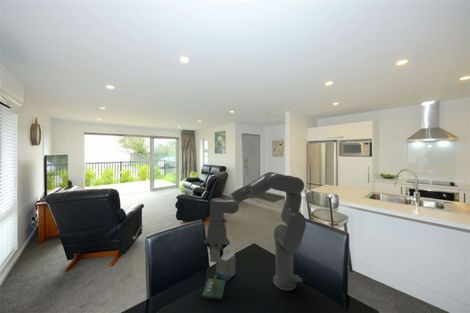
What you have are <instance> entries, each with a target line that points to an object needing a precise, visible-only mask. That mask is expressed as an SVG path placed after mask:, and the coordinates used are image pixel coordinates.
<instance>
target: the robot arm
mask: <svg viewBox="0 0 470 313" xmlns="http://www.w3.org/2000/svg"><path fill="white" fill-rule="evenodd" d="M304 188H305V182H304V181H303V179H301V178H300V177H297V176H294V175H293V176H292V175H286V174H281V173H277V172H273V171H269V172H266V173H264V174H263V175H261V176H260V177H258V178H257V179H255V180H253V181H251V182H250V183H248V184H247V185H244V186H242V187H240V188H237V189H236V190H234V191H233V192H231V193H230V194H228V195H227V196H226V197H225V198H224V199H223V198H221V197H215V198H211V199H210V201H209V224H208V227H207V232H206V233H207V234H206V237H205V239H204V240H203V243H204V244H205V245H206V246H207V247H208V249H209V251H210V250H211V248H212V245H213V244H220V247H221V250H220V258H221V257H222V255H223V251H224V249H225V248H226V247H228V246H229V245H230V242H231V241H230V240H229V239H228V238H227V236H228V235H227V227H226V226H227V225H226V223H228V221H227V220H226V219H225V214H229V215H230V214H231V215H233V214H235V213H237V212H238V211H239V210H240V205H239V204H240V203H241V202H243V201H245V200H248V199H256V198H258V197H260V196H262V195H264V194H265V193H266V192H268V191H269V190H271V189H272V190H275V191H279V192H284V193H285V200H284V203H283V208H282V210H281V215H280V218H281V220H282V222H283V223H284V224H278V225H276V227H275V228H274V232H273V236H274V237H273V238H274V239H273V240H274V247H275V249H274V250H275V251H274V252H275V256H274V257H275V274H274V275H273V277H272V281H273V282H272V283H273V284H274V286H275V287H276V288H278V289H280V290H282V291H287V292H288V291H293V290H295V289H296V287H297V282H298V283H303V278H302V277H300V276H299V275H297V274H294V253H295V252H297V251H298V250H299V249H300V247H301V244H302V241H303V238H304V234H305V231H306V226H307V221H306V218H305V216H304V215H303V213H301V212H300V208H301V205H302V199H303V198H302V192H303V190H304Z"/></svg>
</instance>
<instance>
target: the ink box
mask: <svg viewBox="0 0 470 313" xmlns="http://www.w3.org/2000/svg"><path fill="white" fill-rule="evenodd" d="M215 271H216V272H215V275H216V277H217V278H218V279H219V278H220V280H226V282H228V281H229V280H230V279H231V278H232V277H233V276H235V274H236V254H234V253H232V252H230V250H229V249H226V250H223V255H222V257H221V258H220V260H219V262H215Z"/></svg>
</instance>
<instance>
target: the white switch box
mask: <svg viewBox="0 0 470 313" xmlns="http://www.w3.org/2000/svg"><path fill="white" fill-rule="evenodd" d="M220 250H221V247H220V244H213V245H212V248H211V250H210V249H209V256H210V258H209V260H210V263H211V262H212V263H216V262H219V260H220Z"/></svg>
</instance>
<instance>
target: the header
mask: <svg viewBox="0 0 470 313" xmlns="http://www.w3.org/2000/svg"><path fill="white" fill-rule="evenodd" d="M226 282H227V281H226V280H223V279H221V278H220V279H219V278H218V277H217V276H216V274H215V275H214V278H208V279H207V282H206V283H205V287H204V289H203V292H202V293H201V294H202V295H201V298H203V299H212V300H223V295H224V290H225V286H226Z"/></svg>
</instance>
